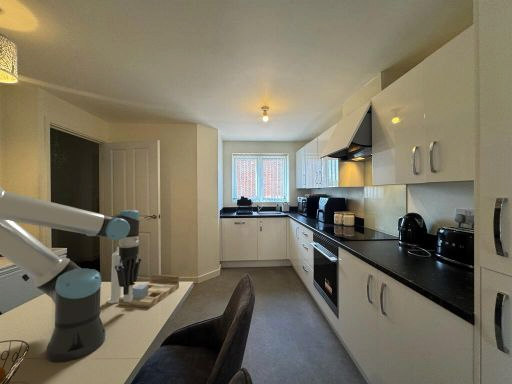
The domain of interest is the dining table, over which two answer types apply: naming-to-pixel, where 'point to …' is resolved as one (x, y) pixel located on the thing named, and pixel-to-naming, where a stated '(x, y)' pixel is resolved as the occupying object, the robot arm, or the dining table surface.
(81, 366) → the dining table surface
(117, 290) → the candle
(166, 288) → the board
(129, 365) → the dining table surface
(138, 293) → the block
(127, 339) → the dining table surface
